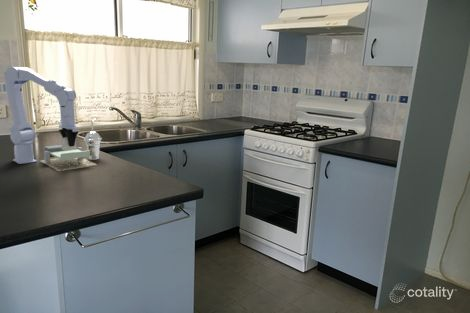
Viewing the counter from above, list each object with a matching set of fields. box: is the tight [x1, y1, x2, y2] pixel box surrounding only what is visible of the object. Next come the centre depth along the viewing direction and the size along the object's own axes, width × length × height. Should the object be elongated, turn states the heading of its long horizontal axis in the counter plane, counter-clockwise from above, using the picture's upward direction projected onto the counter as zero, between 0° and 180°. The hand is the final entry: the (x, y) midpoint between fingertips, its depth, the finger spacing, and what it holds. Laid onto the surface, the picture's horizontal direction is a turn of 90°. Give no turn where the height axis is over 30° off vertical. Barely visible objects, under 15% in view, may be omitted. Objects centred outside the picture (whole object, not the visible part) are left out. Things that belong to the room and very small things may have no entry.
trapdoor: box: [44, 144, 90, 160], centre depth 180 cm, size 21×13×4 cm, turn 45°
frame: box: [39, 146, 97, 172], centre depth 181 cm, size 22×18×6 cm
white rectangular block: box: [60, 136, 77, 151], centre depth 174 cm, size 4×5×6 cm
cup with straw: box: [83, 117, 103, 161], centre depth 190 cm, size 8×9×20 cm
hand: (69, 145), depth 175 cm, fingers closed on white rectangular block, 4 cm apart
